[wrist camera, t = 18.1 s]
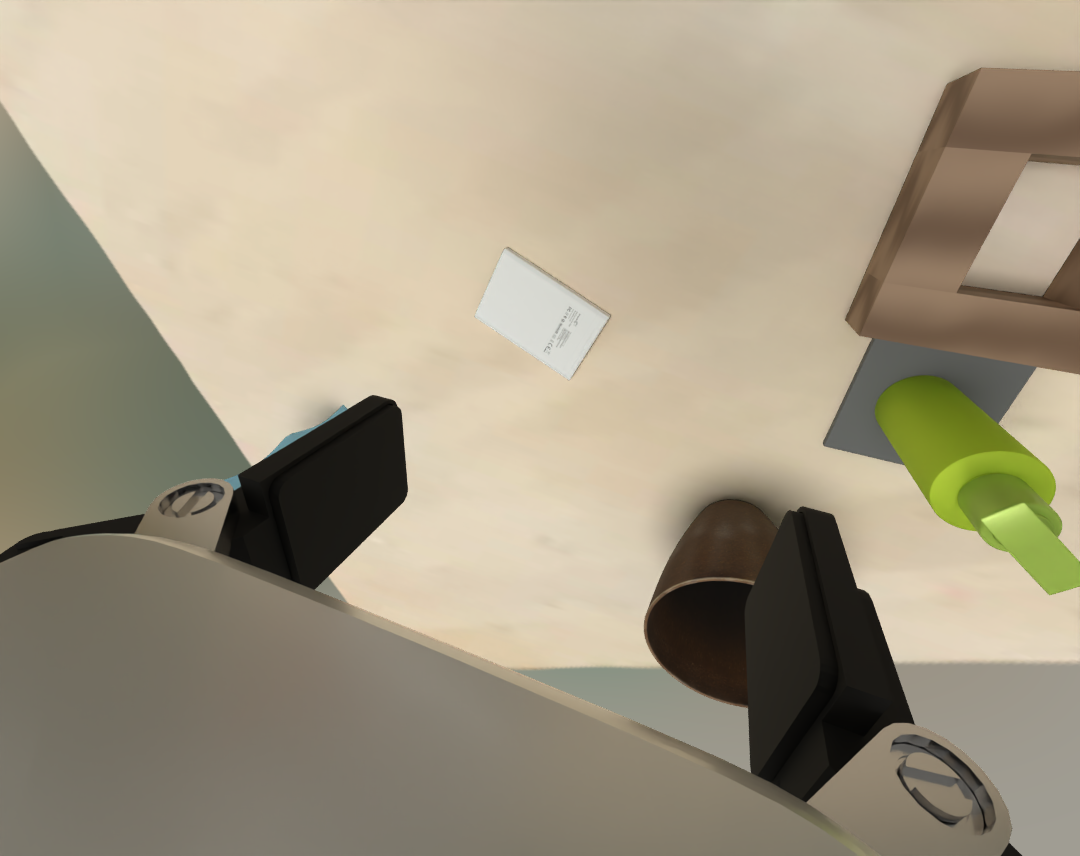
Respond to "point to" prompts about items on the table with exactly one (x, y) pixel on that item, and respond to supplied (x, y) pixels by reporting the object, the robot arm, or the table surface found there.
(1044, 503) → the soap dispenser
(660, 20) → the table surface
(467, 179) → the table surface
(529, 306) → the external hard drive
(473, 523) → the table surface
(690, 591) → the plant pot
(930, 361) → the rubber mat
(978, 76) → the socket block
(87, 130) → the table surface
